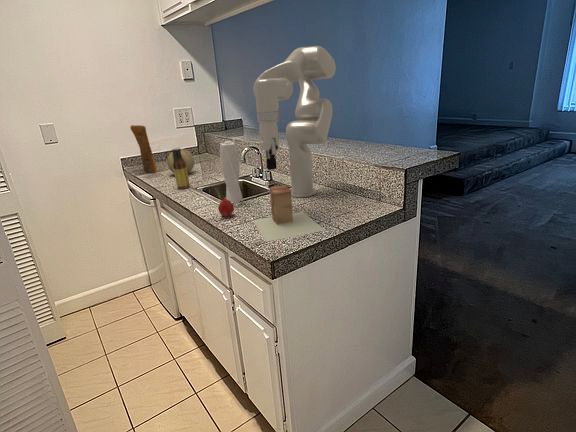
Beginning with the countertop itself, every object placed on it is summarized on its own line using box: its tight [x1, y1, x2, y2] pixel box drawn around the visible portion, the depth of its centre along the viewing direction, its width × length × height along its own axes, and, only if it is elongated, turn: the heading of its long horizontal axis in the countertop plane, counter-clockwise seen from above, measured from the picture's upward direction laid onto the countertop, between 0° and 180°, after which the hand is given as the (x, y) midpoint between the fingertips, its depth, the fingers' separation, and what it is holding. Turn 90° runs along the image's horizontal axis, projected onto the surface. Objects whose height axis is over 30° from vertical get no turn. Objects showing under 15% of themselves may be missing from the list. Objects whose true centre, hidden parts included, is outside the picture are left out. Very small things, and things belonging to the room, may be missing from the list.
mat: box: [252, 211, 325, 243], centre depth 126 cm, size 20×20×1 cm
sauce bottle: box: [171, 147, 190, 190], centre depth 177 cm, size 7×6×20 cm
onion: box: [218, 197, 235, 218], centre depth 136 cm, size 6×6×8 cm
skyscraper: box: [219, 137, 244, 206], centre depth 149 cm, size 8×8×28 cm
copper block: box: [269, 184, 293, 225], centre depth 128 cm, size 6×6×12 cm
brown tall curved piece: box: [129, 124, 158, 174], centre depth 215 cm, size 7×19×28 cm, turn 39°
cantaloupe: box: [166, 148, 195, 174], centre depth 205 cm, size 15×15×15 cm
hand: (271, 168), depth 131 cm, fingers closed
